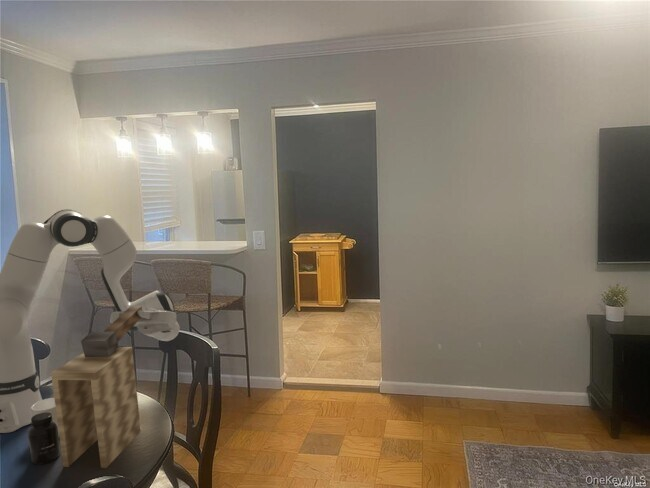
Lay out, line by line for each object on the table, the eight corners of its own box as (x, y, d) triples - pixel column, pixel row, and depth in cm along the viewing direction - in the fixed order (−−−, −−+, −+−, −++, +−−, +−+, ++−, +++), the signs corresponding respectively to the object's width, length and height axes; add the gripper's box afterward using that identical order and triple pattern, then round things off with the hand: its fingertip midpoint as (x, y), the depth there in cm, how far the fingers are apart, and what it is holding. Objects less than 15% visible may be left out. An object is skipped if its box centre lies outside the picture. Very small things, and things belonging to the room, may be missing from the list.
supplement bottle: (48, 466, 124) (42, 423, 122) (25, 464, 125) (19, 422, 123) (66, 451, 130) (61, 410, 129) (45, 449, 132) (39, 409, 130)
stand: (102, 429, 141) (93, 346, 137) (140, 430, 140) (132, 346, 136) (63, 466, 123) (51, 372, 119) (106, 468, 122) (95, 372, 118)
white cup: (52, 444, 134) (48, 411, 133) (29, 442, 136) (24, 409, 135) (72, 429, 142) (68, 398, 141) (49, 427, 144) (45, 396, 142)
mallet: (127, 315, 152) (124, 301, 150) (148, 315, 151) (145, 301, 149) (85, 357, 129) (80, 341, 128) (109, 357, 128) (105, 340, 127)
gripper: (124, 313, 162) (101, 303, 150) (180, 312, 160) (163, 302, 147) (121, 331, 160) (98, 323, 147) (178, 331, 158) (160, 322, 145)
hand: (131, 313), depth 147 cm, fingers closed on mallet, 3 cm apart
